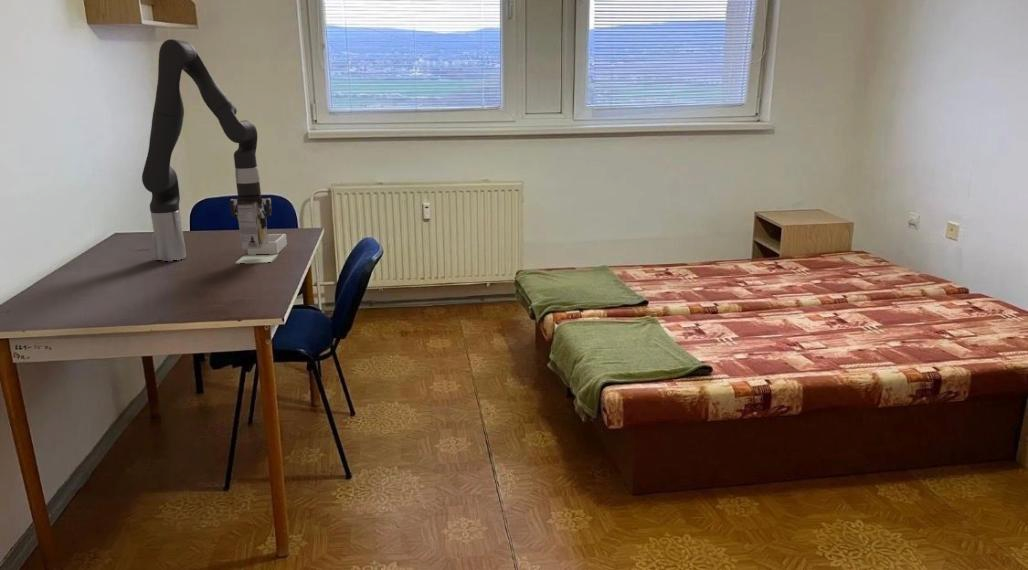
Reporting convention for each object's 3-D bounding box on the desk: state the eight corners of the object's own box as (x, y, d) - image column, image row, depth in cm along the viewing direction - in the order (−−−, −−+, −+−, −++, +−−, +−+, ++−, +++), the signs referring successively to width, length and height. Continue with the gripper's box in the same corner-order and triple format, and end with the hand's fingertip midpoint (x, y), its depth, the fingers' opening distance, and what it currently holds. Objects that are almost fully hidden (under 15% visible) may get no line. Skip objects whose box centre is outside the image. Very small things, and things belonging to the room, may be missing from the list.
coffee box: (251, 243, 259) (245, 198, 255) (269, 243, 259) (263, 198, 254) (241, 249, 250) (235, 203, 246) (259, 249, 250) (254, 202, 246)
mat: (235, 263, 251) (235, 262, 251) (244, 256, 261) (244, 255, 260) (270, 262, 252) (270, 261, 251) (278, 255, 261) (278, 254, 261)
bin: (248, 255, 263) (246, 242, 261) (258, 246, 276) (257, 234, 274) (277, 254, 263) (276, 242, 262) (287, 245, 276) (285, 233, 275)
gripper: (222, 183, 244) (228, 231, 249) (266, 182, 245) (271, 230, 250) (229, 179, 251) (235, 227, 256) (272, 178, 252) (277, 225, 257)
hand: (253, 228), depth 253 cm, fingers closed on coffee box, 6 cm apart
